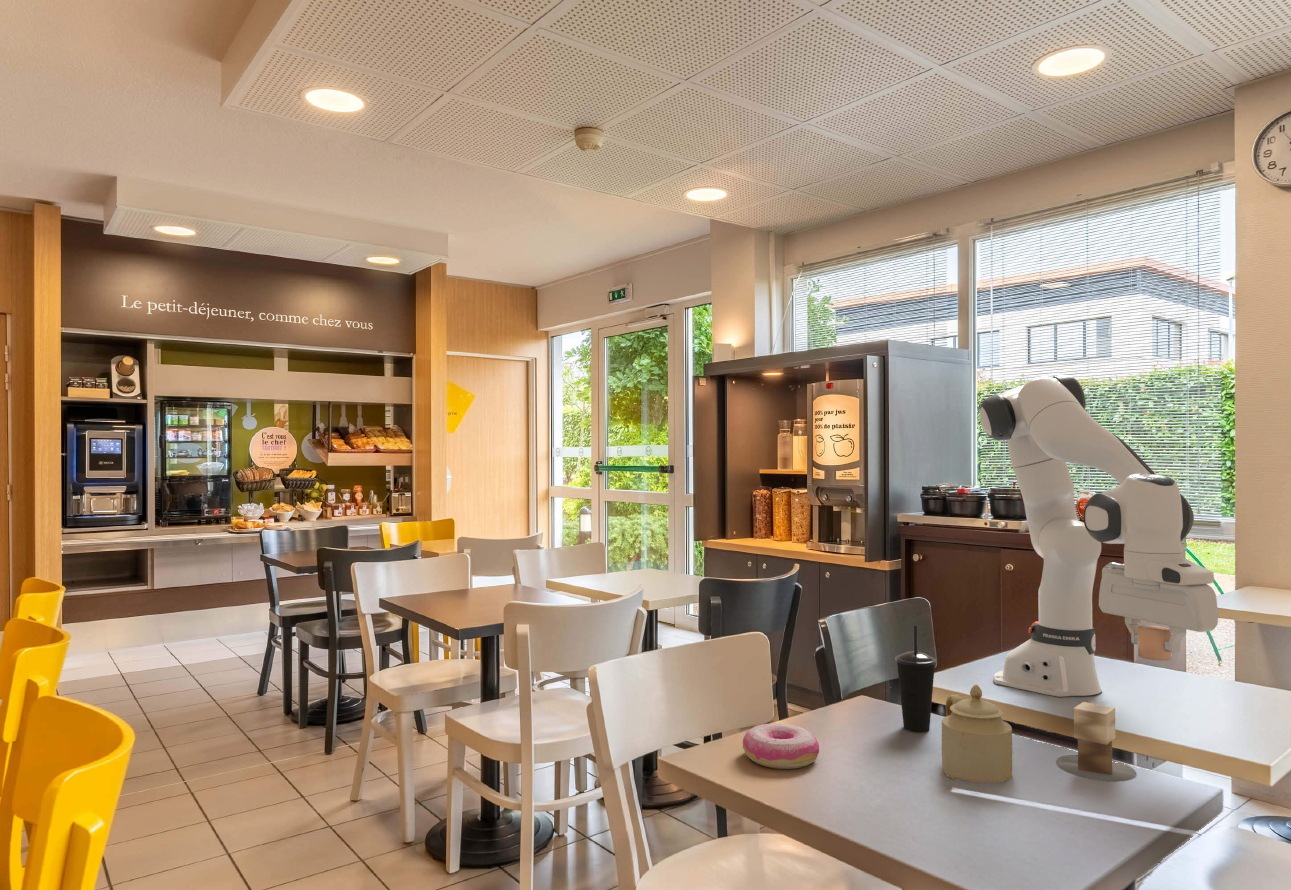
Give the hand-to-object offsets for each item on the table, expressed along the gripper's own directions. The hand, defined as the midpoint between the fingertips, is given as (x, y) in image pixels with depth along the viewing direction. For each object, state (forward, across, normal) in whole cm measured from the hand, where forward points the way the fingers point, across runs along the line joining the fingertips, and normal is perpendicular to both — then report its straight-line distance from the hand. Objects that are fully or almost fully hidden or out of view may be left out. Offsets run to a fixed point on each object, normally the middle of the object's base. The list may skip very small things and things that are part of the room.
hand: (1155, 648), depth 143 cm
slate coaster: (+20, -1, -12) cm, 24 cm away
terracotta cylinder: (+2, 0, 0) cm, 2 cm away
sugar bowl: (+20, -9, -32) cm, 39 cm away
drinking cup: (+20, -30, -27) cm, 45 cm away
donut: (+20, -24, -60) cm, 68 cm away
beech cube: (+14, -1, -12) cm, 19 cm away
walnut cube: (+19, -1, -12) cm, 23 cm away
